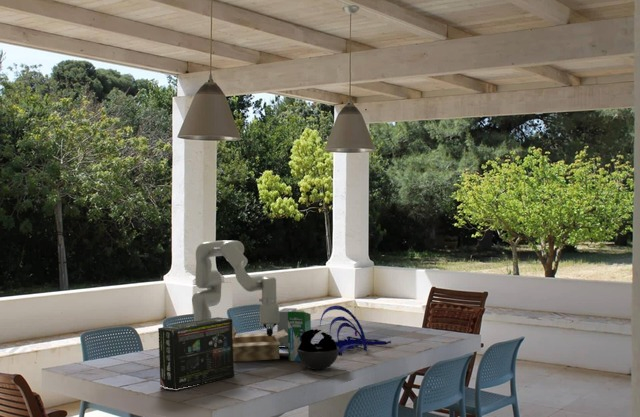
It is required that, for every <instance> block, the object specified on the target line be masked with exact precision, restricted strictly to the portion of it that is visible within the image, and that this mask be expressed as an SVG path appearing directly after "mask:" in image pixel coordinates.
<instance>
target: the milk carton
mask: <svg viewBox="0 0 640 417" xmlns="http://www.w3.org/2000/svg"><path fill="white" fill-rule="evenodd" d="M311 315H312V314H311V313H309V312H305V310H303V309H300V310H299V309H297V312H290V311H288V348H287V350H288V362H302V361H301V360H300V358H299V356H298V352H297V348H298V347H299V345H300V344H301V336H302V335H303V333H304V332H305V331H308V330H311V329H312V323H311V322H312V321H311Z"/></svg>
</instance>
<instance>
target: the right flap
mask: <svg viewBox="0 0 640 417" xmlns="http://www.w3.org/2000/svg"><path fill="white" fill-rule="evenodd" d="M274 335H275V336H276V338H278V340H281V339H283V338H285V337H287V336H288V334H287V333H286V331H285V330H284V329H283V330H281V331H279V332H275V333H274Z"/></svg>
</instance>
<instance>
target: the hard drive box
mask: <svg viewBox="0 0 640 417" xmlns="http://www.w3.org/2000/svg"><path fill="white" fill-rule="evenodd" d="M297 310H298V309H297V308H295V307H294V308H293V307H290V308H289V307H285V308H284V307H283V308H282V309H279V315H280V321H279V322H280V324H279V325H276V326H277V328H276V330H277V332H279V331H281V330H283V329H284V330H285V331H286V333H287V334H288V311H290V312H297ZM277 332H276V333H277ZM276 338H277V337H276ZM277 339H278V338H277ZM279 342H280V344H281V345H279V346H285V347H288V336H287V337H285V338H283V339H281V340H279Z"/></svg>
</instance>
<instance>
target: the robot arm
mask: <svg viewBox="0 0 640 417" xmlns="http://www.w3.org/2000/svg"><path fill="white" fill-rule="evenodd" d="M244 253H245V246H244V244H243V243H242V241H239V240H211V241H205V242H202V243H200V244H198V246H197V247H196V249H195V263H196V264H195V279H194V280H195V285H196V287H197V288H199V289H205V290H198V291H196V292H195V293H193V295H192V296H191V297H192V298H191V303H192V304H191V305H192V309H193V322H194V321H200V320H205V319H211V318H212V317H213V316H212V312H211V310H210V307H215V306H217V305H219V303H221V298H222V283H223V282H222V275H221V273H220V272H219V271H217V270H215V269H213V268H212V264H213V263H212V260H211V258H214V257H224V258H225V260H226V261H227V262H228V263H229V264H230V266H232V268H233V269H234V275H235V279H236V281H237V282H238V284H240V286H241V287H242V288H243V289H244V290H245V291H247V292H249V293H250V292H252V293H253V292H257V291H258V292H259V291H261V298H260V299H258V302H260V303H261V304H260V306H259V323H258V325H259V326H261V327H265V329H266V333H267V335H268V337H270V336H271V337H272V335H273V334H274V328H275V327H276V326H277V325H279V324H280V322H279V321H280V315H279V311H280V307H279V303H277V279H276V278H275V277H273V276H264V275H258V276H257V275H256V276H255V275H254V276H250V275H249V273H247V271H246V269H245V267H246V266H247V265H248V262H249V261H248V258H247V257H246V256H245V255H244ZM269 324H270V326H269Z"/></svg>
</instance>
